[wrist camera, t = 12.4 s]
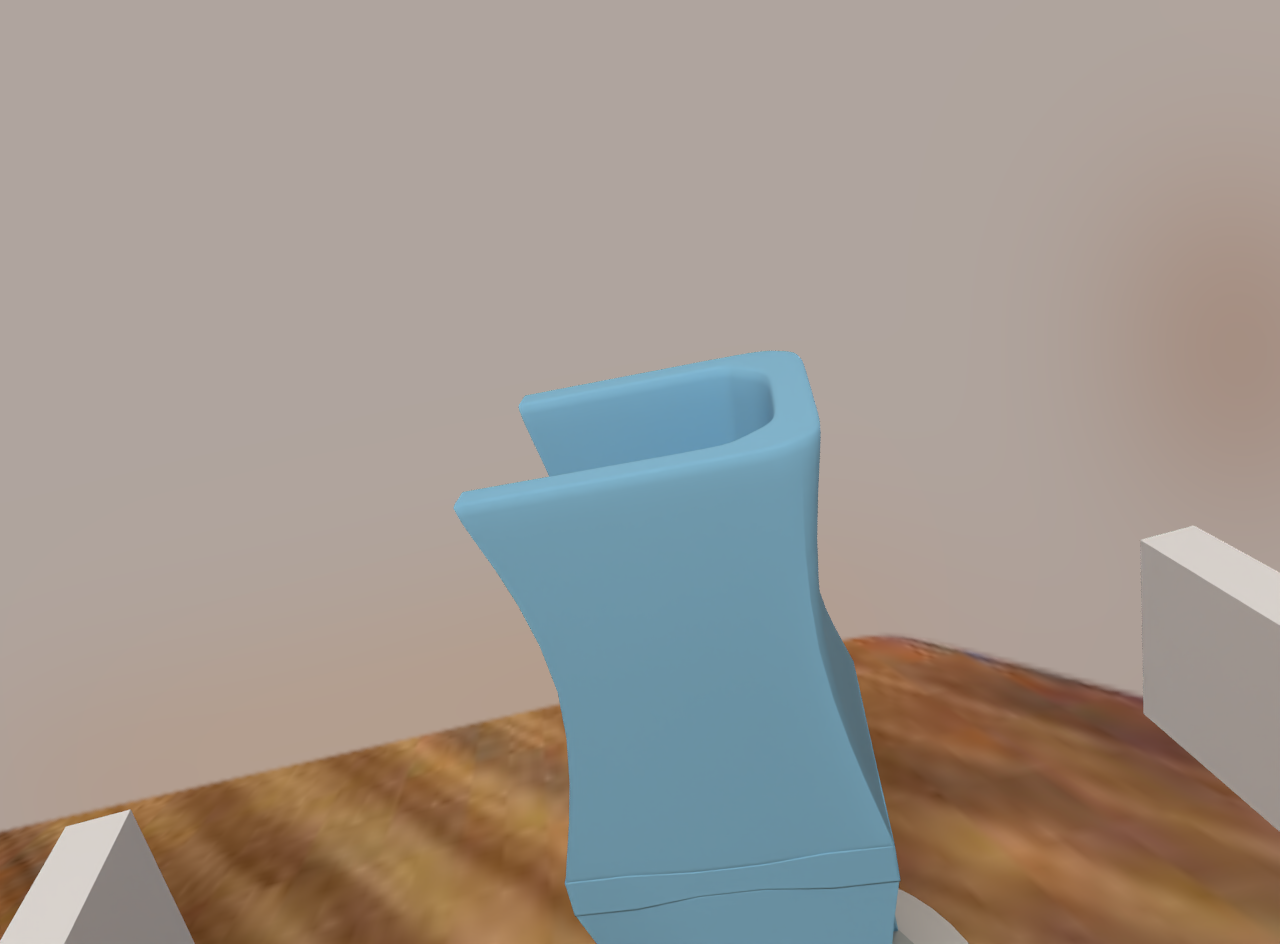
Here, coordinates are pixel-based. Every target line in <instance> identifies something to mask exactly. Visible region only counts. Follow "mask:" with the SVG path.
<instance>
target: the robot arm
mask: <svg viewBox="0 0 1280 944" xmlns="http://www.w3.org/2000/svg"><path fill="white" fill-rule="evenodd" d="M1140 544H1141V598H1142V647H1143V648H1142V649H1143V702H1144V714H1145V715H1146V716H1147V717H1148V718H1149V719H1150V720H1152V721H1153V722H1154V723H1155V724H1156V725H1157V726H1159V727H1160V728H1161V729H1162V730H1163V731H1164V732H1165V733H1167V734H1168V735H1169V736H1170V737H1171V738H1172V739H1174V740H1175V741H1176V742H1177V743H1178V744H1179V745H1180V746H1182V747H1183V748H1184V749H1185V750H1186V751H1187V752H1189V753H1190V754H1191V755H1192V756H1193V757H1194V758H1195V759H1197V760H1198V761H1199V762H1200V763H1201V764H1202V765H1204V766H1205V767H1206V768H1207V769H1208V770H1209V771H1210V772H1212V773H1213V774H1214V775H1215V776H1216V777H1217V778H1219V779H1220V780H1221V781H1222V782H1223V783H1224V784H1225V785H1227V786H1228V787H1229V788H1230V789H1231V790H1232V791H1233V792H1235V793H1236V794H1237V795H1238V796H1239V797H1240V798H1242V799H1243V800H1244V801H1245V802H1246V803H1247V804H1248V805H1250V806H1251V807H1252V808H1253V809H1254V810H1255V811H1257V812H1258V813H1259V814H1260V815H1261V816H1262V817H1263V818H1265V819H1266V820H1267V821H1268V822H1269V823H1270V824H1272V825H1273V826H1274V827H1275V828H1276V829H1277V830H1278V831H1280V573H1279V572H1278V571H1276V570H1274V569H1272V568H1270V567H1268V566H1267V565H1265V564H1263V563H1261V562H1259V561H1257V560H1256V559H1254V558H1252V557H1250V556H1248V555H1247V554H1245V553H1243V552H1241V551H1239V550H1237V549H1236V548H1234V547H1232V546H1230V545H1228V544H1226V543H1225V542H1223V541H1221V540H1219V539H1217V538H1216V537H1213V536H1212V535H1210V534H1208V533H1206V532H1205V531H1203V530H1201V529H1199V528H1197V527H1196V526H1191V527H1187V528H1183V529H1180V530H1176V531H1172V532H1169V533H1165V534H1161V535H1157V536H1153V537H1150V538H1146V539H1142V540H1140ZM0 944H195V943H194V941H193V939H192V937H191V935H190V932H189V930H188V928H187V926H186V924H185V922H184V920H183V918H182V916H181V914H180V912H179V909H178V907H177V905H176V903H175V901H174V899H173V897H172V895H171V893H170V891H169V889H168V886H167V884H166V882H165V880H164V878H163V876H162V874H161V872H160V870H159V868H158V866H157V864H156V861H155V859H154V857H153V855H152V853H151V851H150V849H149V847H148V845H147V843H146V841H145V838H144V836H143V834H142V832H141V830H140V828H139V826H138V824H137V822H136V820H135V818H134V815H133V813H132V811H131V809H130V810H127V811H123V812H119V813H115V814H112V815H108V816H104V817H100V818H97V819H93V820H89V821H85V822H82V823H78V824H74V825H70V826H67V827H65V829H64V831H63V832H62V834H61V836H60V838H59V839H58V841H57V843H56V845H55V846H54V848H53V850H52V852H51V853H50V855H49V857H48V859H47V860H46V862H45V864H44V866H43V867H42V869H41V871H40V872H39V874H38V876H37V878H36V879H35V881H34V883H33V885H32V886H31V888H30V890H29V892H28V893H27V895H26V897H25V899H24V900H23V902H22V904H21V905H20V907H19V909H18V911H17V912H16V914H15V916H14V918H13V919H12V921H11V923H10V925H9V926H8V928H7V930H6V932H5V933H4V935H3V937H2V939H1V940H0Z"/></svg>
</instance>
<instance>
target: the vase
mask: <svg viewBox="0 0 1280 944" xmlns="http://www.w3.org/2000/svg"><path fill="white" fill-rule="evenodd" d="M519 410H520V413H521V415H522V418H523V421H524V423H525V425H526V428H527V430H528V432H529V434H530V436H531V438H532V440H533V442H534V445H535V446H536V449H537V451H538V453H539V455H540V457H541V459H542V461H543V464H544V466H545V468H546V470H547V472H548V475H549V477H545V478H539V479H533V480H528V481H522V482H517V483H512V484H506V485H500V486H494V487H489V488H483V489H478V490H472V491H466V492H463V493H462V494H461V496H460V497H459V499H458V500H457V502H456V503H455V505H454V510H455V512H456V514H457V515H458V517H459V519H460V521H461V522H462V524H463V525H464V527H465V528H466V530H467V531H468V532H469V534H470V535H471V536H472V538H473V540H474V541H475V542H476V544H477V545H478V547H479V548H480V549H481V551H482V552H483V554H484V555H485V556H486V558H487V559H488V561H489V562H490V563H491V565H492V566H493V568H494V569H495V570H496V572H497V573H498V575H499V577H500V578H501V579H502V581H503V583H504V584H505V586H506V587H507V589H508V590H509V592H510V594H511V595H512V597H513V598H514V600H515V601H516V603H517V605H518V606H519V608H520V610H521V612H522V614H523V616H524V618H525V619H526V621H527V623H528V625H529V627H530V629H531V630H532V633H533V634H534V636H535V638H536V640H537V642H538V644H539V646H540V648H541V650H542V653H543V656H544V658H545V661H546V663H547V666H548V668H549V671H550V673H551V676H552V679H553V681H554V684H555V686H556V689H557V691H558V696H559V701H560V707H561V712H562V717H563V722H564V727H565V732H566V738H567V751H568V765H569V780H570V799H569V834H568V851H567V868H566V880H565V885H566V889H567V892H568V895H569V898H570V901H571V905H572V908H573V911H574V914H575V917H577V918H578V920H579V921H580V922H581V924H582V925H583V926H584V927H585V929H586V930H587V931H588V933H589V934H590V935H591V937H592V938H593V939H594V941H595V942H596V943H597V944H892V942H893V931H898V926H897V921H896V917H895V911H896V903H897V895H898V888H899V881H900V875H899V869H898V862H897V856H896V850H895V844H894V840H893V835H892V831H891V826H890V822H889V818H888V813H887V809H886V804H885V800H884V795H883V791H882V787H881V783H880V778H879V774H878V770H877V765H876V761H875V756H874V752H873V748H872V743H871V739H870V734H869V730H868V725H867V721H866V716H865V712H864V707H863V702H862V698H861V693H860V689H859V684H858V680H857V675H856V671H855V667H854V662H853V660H852V658H851V656H850V654H849V652H848V651H847V649H846V647H845V645H844V643H843V641H842V640H841V638H840V636H839V634H838V632H837V631H836V629H835V627H834V625H833V623H832V621H831V618H830V616H829V614H828V612H827V610H826V608H825V605H824V602H823V600H822V597H821V594H820V590H819V579H818V553H817V552H818V551H817V513H818V481H819V460H820V421H819V416H818V412H817V409H816V405H815V401H814V398H813V394H812V391H811V387H810V384H809V380H808V377H807V373H806V370H805V367H804V364H803V362H802V360H801V358H800V357H799V356H798V355H797V354H795V353H793V352H786V351H763V352H754V353H747V354H741V355H735V356H730V357H725V358H719V359H714V360H708V361H703V362H698V363H693V364H688V365H682V366H677V367H672V368H667V369H661V370H656V371H651V372H646V373H640V374H635V375H631V376H625V377H620V378H615V379H609V380H604V381H599V382H594V383H589V384H584V385H578V386H573V387H568V388H563V389H557V390H552V391H547V392H542V393H536V394H531V395H526V396H525V397H524V398H523V400H522V401H521V403H520V404H519Z"/></svg>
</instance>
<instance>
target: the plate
mask: <svg viewBox="0 0 1280 944" xmlns="http://www.w3.org/2000/svg"><path fill="white" fill-rule="evenodd" d="M895 917H896V921H897V926H898V931H893V942H892V944H969V943H968V942H967V941H966V940H965V939H964V938H963V937H962V936H961V934H960V933H959V932H958V931H957V930H956V929H955V928H954V927H953V926H952V925H951V924H950V923H949V922H948V921H947V920H945V919H944V918H943V917H942V916H941V915H939V914H938V913H937V912H936V911H935V910H934V909H932V908H931V907H929V906H928V905H926V904H924V903H923V902H921V901H920V900H918V899H917V898H915V897H914V896H912V895H910V894H908V893H906V892H904V891H902V890H900V889H898V895H897V903H896V911H895Z"/></svg>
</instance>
